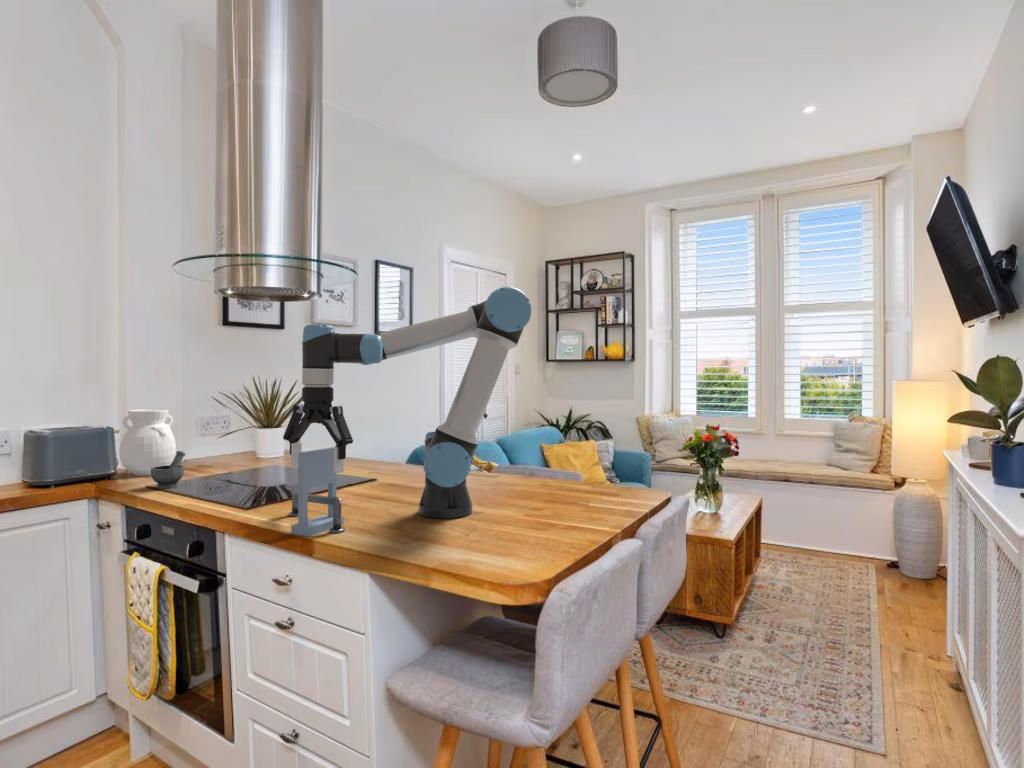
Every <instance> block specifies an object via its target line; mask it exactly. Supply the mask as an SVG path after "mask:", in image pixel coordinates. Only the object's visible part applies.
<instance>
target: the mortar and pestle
mask: <svg viewBox="0 0 1024 768" xmlns="http://www.w3.org/2000/svg"><path fill="white" fill-rule="evenodd" d="M185 456H186V453H185V452H184V451H181V450H177V451H176V453H175V456H174V459H173V461H172V462H171V464H170V465H168V466H158V467H153V468H151V476H150V477H151V478H152V479H153V481H154V482H155V483H156V484H157V485H156V489H158V490H169V489H170V490H171V489H176V487H177V488H178V487H179V481H180V480H181V479H182V478H183V476H184V473H185V466H184V465H181V464H182V461H183V460H184V459H183V458H184V457H185Z"/></svg>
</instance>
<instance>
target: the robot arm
mask: <svg viewBox="0 0 1024 768" xmlns="http://www.w3.org/2000/svg"><path fill="white" fill-rule="evenodd" d="M531 317H532V304H531V301H530V300H529V298H528V296H527V294H526V293H524V292H523V291H522V290H521V289H519V288H516V287H514V286H503V287H499V288H497V289H495V290H493V292H491V293H490V294H489V296H487V299H486V300H484V301H482V302H480V303H477V304H474V305H469V307H468V308H467V310H466V311H465V310H464V311H462V312H461V311H460V312H457V313H453V314H450V315H449V314H448V315H445V316H442V317H437V318H433V319H429V320H426V321H422V322H418V323H414V324H410V325H406V326H403V327H398V328H394V329H391V330H385V331H382V332H378V333H375V334H372V333H340V332H339V333H338V332H336V331H335V328H334V326H333V325H330V324H329V325H328V324H318V323H315V324H306V325H305V326H304V327H303V329H302V330H303V332H302V342H301V345H302V347H301V348H302V356H301V357H302V366H301V367H302V373H301V375H302V376H301V377H302V378H301V384H302V385H303V386H302V388H301V400H302V402H303V404H302V403H298V404H294V405H293V407H292V414H291V417H290V420H289V421H288V424H287V426H286V429H285V432H284V434H283V436H282V438H283V440H284V441H288V443H289V455H290V456H291V457H290V459H291V460H290V461H291V465H290V466H291V467H290V468H291V469H292V470H294V469H295V470H296V469H298V453H300V452H302V445H303V444H302V442H301V439H302V438H303V436H304V434H305V433H306V431H307V430H308V429H309V427H310V426H311V424H321V425H322V426H324V427H325V429H326V431H327V432H328V434H329V435H330V436H331V438H332V440H333V441H334V443H335V444H336V445H335V446H333V447H334V473H336V474H339V473H343V472H344V468H345V467H344V463H345V461H344V460H345V459H346V456H347V455H346V453H347V451H346V450H347V446H348V445H350V444H353V443H354V440H353V437H352V434H351V431H350V429H349V426H348V424H347V421H346V418H345V416H344V409H343V408H344V407H343V406H342V405H334V406H333V405H332V402H333V401H334V388H333V387H332V386H333V385H334V375H335V374H334V372H335V371H334V368H335V367H334V366H335V364H359V365H362V366H368V365H373V364H380V363H381V362H382V361H384V360H388V359H392V358H397V357H400V356H404V355H408V354H411V353H415V352H420V351H423V350H427V349H431V348H434V347H439V346H443V345H447V344H451V343H454V342H455V343H456V342H458V341H462V340H465V339H469V338H475V339H477V340H476V344H475V345H474V348H473V351H472V354H471V356H470V358H469V361H468V364H467V365H466V368H465V371H464V374H463V376H462V378H461V381H460V384H459V386H458V389H457V391H456V394H455V396H454V399H453V401H452V404H451V405H450V406H451V407H450V409H449V411H448V414H447V416H446V419H445V422H444V423H442V424H439V425H438V426H436V429H435V431H429V432H427V433H426V434H425V439H424V458H423V461H422V462H423V465H422V466H423V471H424V479H425V480H424V488H423V491H422V495H421V498H420V499H419V502H418V503H419V504H418V514H419V515H420V516H422V517H425V518H432V519H455V518H457V519H458V518H462V517H466V516H468V515H471V514H472V513H473V502H472V499H471V496H470V492H469V489H468V487H467V477H468V476H469V474H470V472H471V470H472V469H471V467H472V460H473V458H474V455H475V452H476V450H477V448H478V445H479V441H478V439H477V432H478V430H479V426H480V424H481V422H482V420H483V416H484V414H485V411H486V410H487V406H488V404H489V402H490V399H491V396H492V394H493V392H494V388H495V386H496V383H497V381H498V379H499V377H500V373H501V371H502V369H503V366H504V364H505V361H506V359H507V355H508V353H509V351H510V350H511V349H513V348H515V347H517V346H518V343H519V341H520V339H521V336H522V334H523V331H524V329H525V327H527V325H528V323H529V322H530V320H531Z"/></svg>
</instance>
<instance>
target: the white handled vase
mask: <svg viewBox="0 0 1024 768" xmlns="http://www.w3.org/2000/svg"><path fill="white" fill-rule="evenodd" d="M169 411H170V410H169V409H167V408H166V409H165V408H163V409H162V408H144V409H143V408H141V409H130V410H127V416H125V417H124V418H123V420H122V423H121V424H122V425H123V427H124V429H126V432H125V433H124V434H123V436H122V439H121V440H120V442H119V443H120V445H119V450H118V455H119V459H120V462H121V464H122V465H123V467H124V468H125V469H126V470H127V471H128V472H130V473H132V474H133V475H134V476H136V477H152V476H151V468H153V467H158V466H168V465H171V463H172V461H173V460H174V458H175V456H176V452H177V451H176V450H177V443H176V439H175V435H174V434H173V431H172V429H171V426H172V424H174V423H173V422H174V419H173V416H172V415H171V414H169ZM166 419H168V420H167V422H166V423H165V421H166ZM128 420H130V422H131V423H132V425H131V426H130V425H129V424H128Z"/></svg>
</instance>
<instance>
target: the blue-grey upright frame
mask: <svg viewBox="0 0 1024 768" xmlns="http://www.w3.org/2000/svg"><path fill="white" fill-rule="evenodd" d="M334 447H335V446H330V447H325V448H319V449H312V450H307V451H301V452H300V453H298V468H297V471H298V472H297V479H298V481H297V483H298V516H297V517H298V519H297V521H298V522H297V523H295V524H291V526H290V527H291V529H290V533H291V534H292V535H296V536H297V535H298V536H305V537H313V536H315V535H318V534H321V533H323V532H327V531H330V529H331V528H333V505H329V504H327V514H323V515H320V516H316V517H314V518H311V519H309V518H308V516H309V515H308V512H309V511H308V508H309V507H308V503H309V502H308V494H309V493H308V490H310V489H313V488H317V487H321V486H325V485H327V496H330V497H337V473H334ZM343 525H344V516H341V526H343Z"/></svg>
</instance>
